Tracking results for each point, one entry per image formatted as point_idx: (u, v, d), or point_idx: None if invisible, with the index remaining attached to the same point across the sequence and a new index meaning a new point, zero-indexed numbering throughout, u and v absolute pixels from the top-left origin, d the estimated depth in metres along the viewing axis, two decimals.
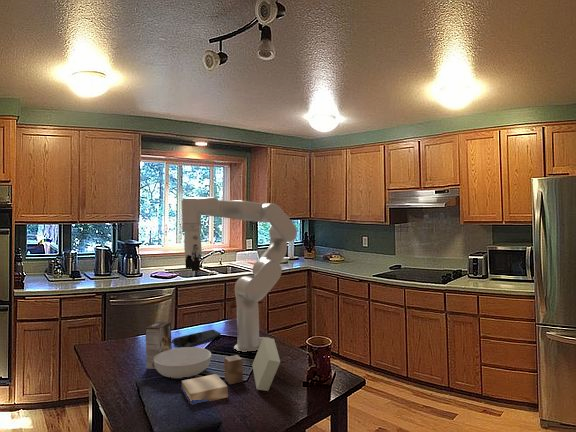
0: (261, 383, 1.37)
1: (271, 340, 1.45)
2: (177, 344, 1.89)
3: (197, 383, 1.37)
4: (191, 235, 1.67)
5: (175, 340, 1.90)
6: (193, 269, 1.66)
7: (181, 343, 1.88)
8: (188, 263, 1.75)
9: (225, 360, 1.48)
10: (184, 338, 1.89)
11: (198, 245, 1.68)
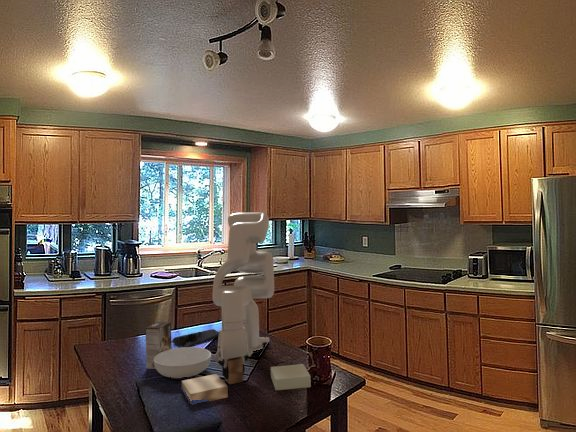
0: (283, 380, 1.39)
1: None
2: (177, 343, 1.90)
3: (197, 383, 1.37)
4: (245, 332, 1.49)
5: (175, 339, 1.91)
6: None
7: (180, 342, 1.89)
8: None
9: None
10: (184, 337, 1.90)
11: None
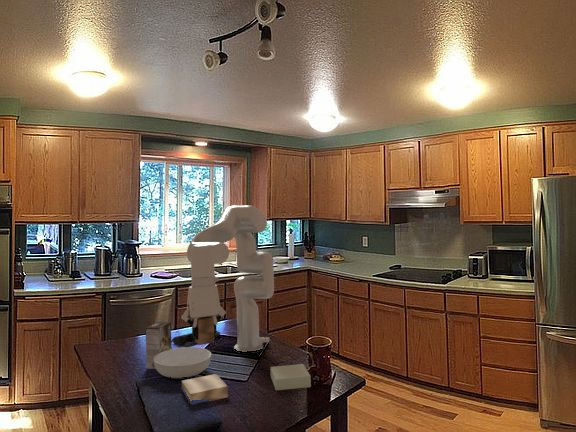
0: (283, 380, 1.39)
1: None
2: (176, 343, 1.91)
3: (197, 383, 1.37)
4: (217, 290, 1.38)
5: (175, 339, 1.92)
6: None
7: (180, 342, 1.89)
8: None
9: None
10: (183, 337, 1.91)
11: None
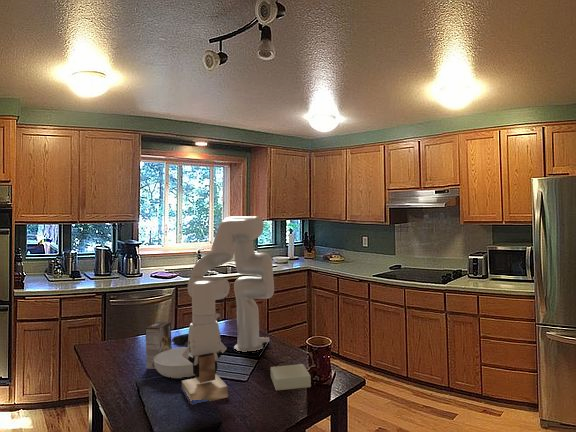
0: (283, 380, 1.39)
1: None
2: (177, 343, 1.92)
3: (197, 383, 1.37)
4: (218, 326, 1.38)
5: (175, 339, 1.93)
6: None
7: (180, 341, 1.90)
8: None
9: None
10: (183, 337, 1.91)
11: None
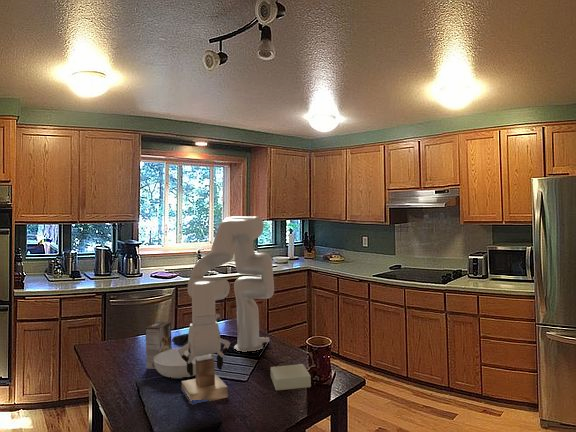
0: (283, 380, 1.39)
1: None
2: (176, 342, 1.92)
3: None
4: (218, 327, 1.38)
5: (175, 338, 1.93)
6: None
7: (180, 341, 1.90)
8: None
9: (196, 361, 1.37)
10: (183, 337, 1.91)
11: None
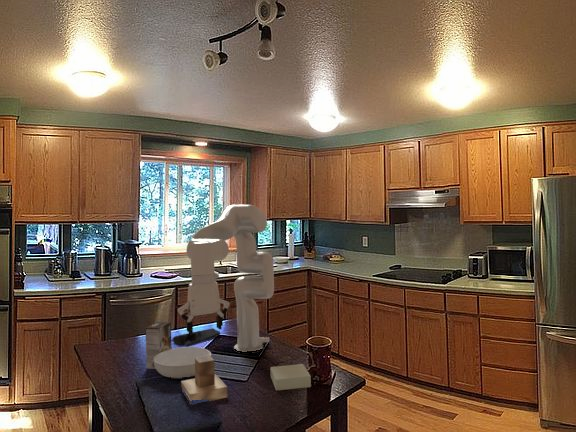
0: (283, 380, 1.39)
1: None
2: (176, 342, 1.92)
3: None
4: (217, 287, 1.38)
5: (175, 338, 1.93)
6: None
7: (180, 341, 1.90)
8: None
9: (196, 361, 1.37)
10: (183, 336, 1.92)
11: None
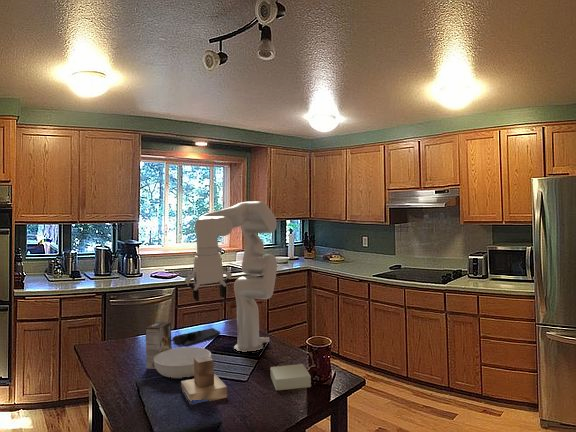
0: (283, 380, 1.39)
1: None
2: (177, 342, 1.92)
3: None
4: None
5: (175, 338, 1.93)
6: None
7: (180, 341, 1.91)
8: None
9: (195, 361, 1.37)
10: (183, 336, 1.92)
11: None
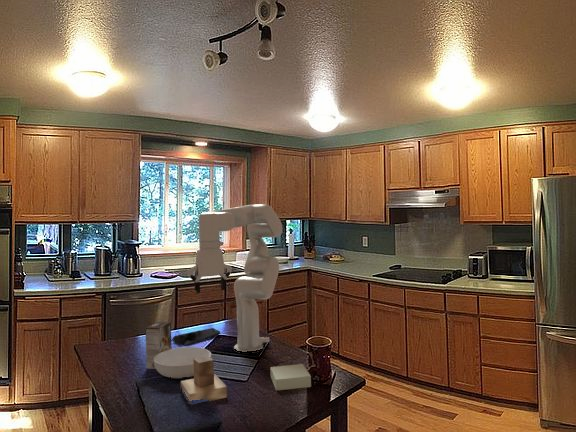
0: (283, 380, 1.39)
1: None
2: (177, 342, 1.93)
3: None
4: None
5: (175, 338, 1.94)
6: None
7: (180, 341, 1.91)
8: None
9: (194, 362, 1.37)
10: (183, 336, 1.92)
11: None
